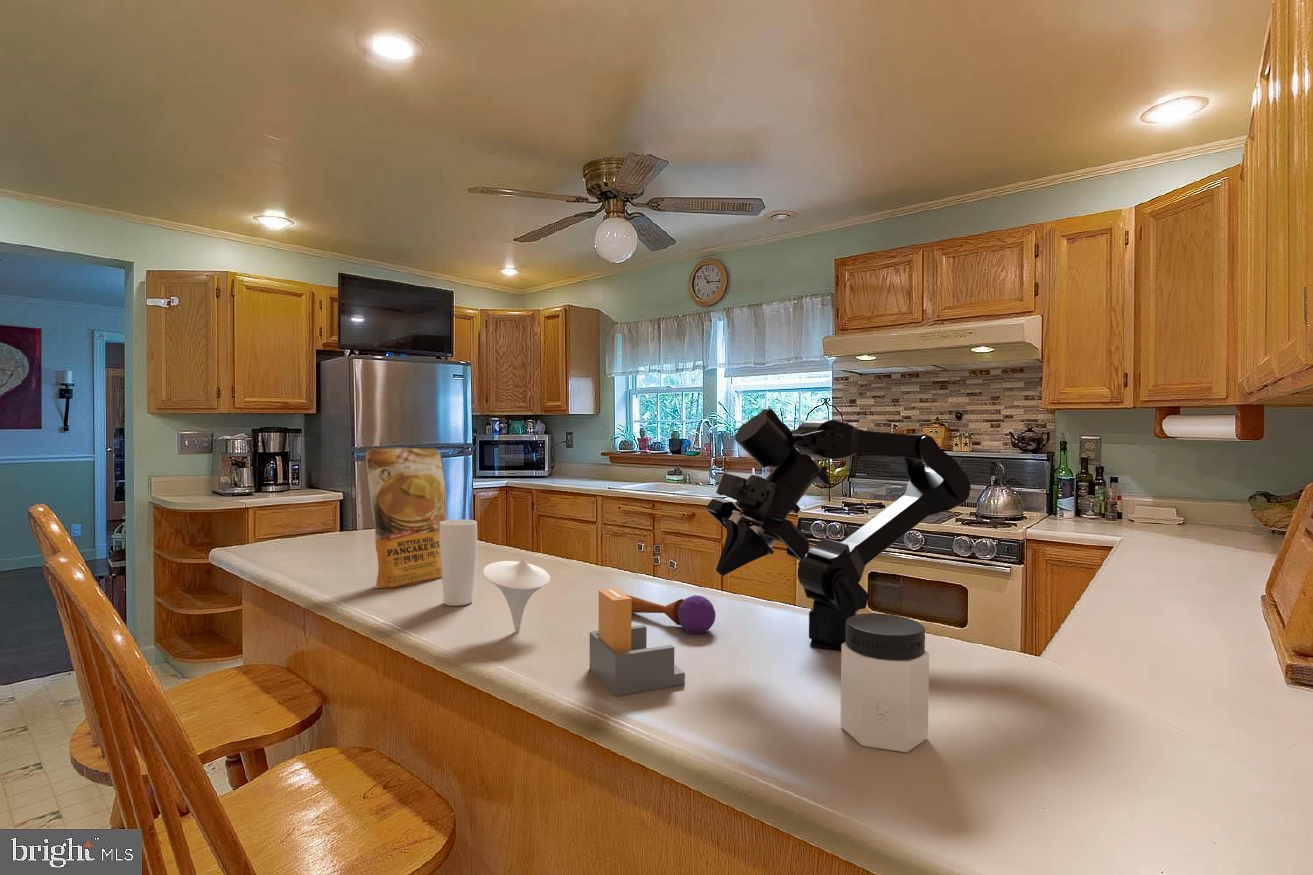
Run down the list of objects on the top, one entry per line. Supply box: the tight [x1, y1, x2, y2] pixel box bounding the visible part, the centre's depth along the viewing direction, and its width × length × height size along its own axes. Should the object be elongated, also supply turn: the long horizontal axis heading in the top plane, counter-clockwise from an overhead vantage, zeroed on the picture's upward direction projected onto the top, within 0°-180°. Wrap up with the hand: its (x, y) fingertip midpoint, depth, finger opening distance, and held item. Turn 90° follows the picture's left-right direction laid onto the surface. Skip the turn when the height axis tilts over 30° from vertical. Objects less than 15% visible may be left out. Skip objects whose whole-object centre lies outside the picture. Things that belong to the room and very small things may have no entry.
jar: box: [840, 612, 930, 754], centre depth 72 cm, size 9×8×12 cm
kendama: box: [626, 594, 716, 635], centre depth 111 cm, size 6×6×20 cm
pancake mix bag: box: [364, 447, 448, 589], centre depth 138 cm, size 7×19×28 cm, turn 142°
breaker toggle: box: [598, 587, 633, 653], centre depth 86 cm, size 2×6×10 cm, turn 24°
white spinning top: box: [482, 557, 551, 633], centre depth 106 cm, size 10×11×12 cm
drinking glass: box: [439, 518, 478, 607], centre depth 122 cm, size 7×7×15 cm
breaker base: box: [588, 624, 686, 697], centre depth 87 cm, size 10×10×5 cm
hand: (719, 573), depth 93 cm, fingers closed
